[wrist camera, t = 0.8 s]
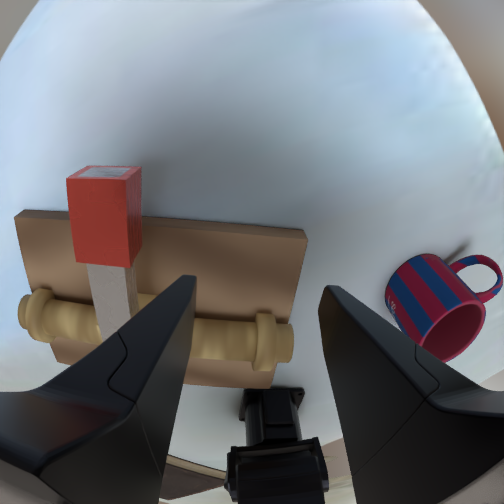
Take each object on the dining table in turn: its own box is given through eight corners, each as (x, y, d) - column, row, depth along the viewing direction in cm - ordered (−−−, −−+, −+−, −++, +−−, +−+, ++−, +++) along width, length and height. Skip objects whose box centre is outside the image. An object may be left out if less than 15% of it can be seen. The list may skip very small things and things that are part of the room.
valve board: (268, 377, 29) (274, 429, 24) (62, 352, 27) (41, 395, 21) (303, 230, 21) (326, 279, 16) (23, 209, 19) (-22, 245, 14)
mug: (374, 281, 24) (408, 337, 18) (463, 219, 22) (513, 258, 16) (396, 326, 27) (424, 377, 21) (474, 271, 24) (513, 311, 18)
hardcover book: (106, 470, 45) (104, 479, 43) (153, 446, 38) (151, 459, 36) (171, 492, 51) (171, 500, 49) (235, 472, 43) (235, 483, 41)
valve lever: (155, 375, 20) (150, 399, 18) (118, 369, 19) (111, 392, 17) (141, 166, 13) (125, 179, 11) (87, 165, 13) (66, 178, 11)
